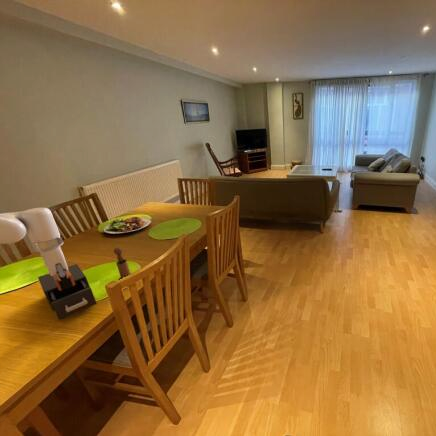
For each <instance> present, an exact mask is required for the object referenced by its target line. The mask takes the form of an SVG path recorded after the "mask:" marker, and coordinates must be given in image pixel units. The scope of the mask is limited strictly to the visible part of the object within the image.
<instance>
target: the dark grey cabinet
mask: <svg viewBox="0 0 436 436" xmlns="http://www.w3.org/2000/svg"><path fill="white" fill-rule="evenodd" d="M67 267H68V270H69V272H70V273H71V275H72V277H73V280H74V282H77V281H79V280H83V281H84V283H85V284H86V286H87V288H88V287H90V288H91V286H90V283H89V281H88V279H87V278H88V277H86V274H85V273H84V271H83V270H82V269H81V268H80V266H79V264H78V263H75V264H71V265H70V266H67ZM53 276H54V275H53ZM53 276H50V274H49V272H48V273H45V274H43V275H40V276H38V277H37V278H38V281H39V283H40V286H41V289H42V291H43V294H44V296H45V298H46V300H47V302H48V304H49V306H50V308H51V310H52V312H54V313H55V311H54V309H53V307H52V305H51V302H53V300H52V297H51V295H50V293H49V292H50V291H53V290H55V289H58V287H57V284H56V282H55V280H54V278H53Z"/></svg>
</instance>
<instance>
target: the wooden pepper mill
mask: <svg viewBox="0 0 436 436" xmlns="http://www.w3.org/2000/svg"><path fill="white" fill-rule="evenodd" d="M113 253H114V254H115V255H116V256H117V257H116V259H117V261H116V263H115V264H116V267H117V269H118V273H119V277H118V279H117V281H118V280H120V279H122V278H123V277H126V276H128V275H130V274H132V273H131V270H130V267H129V263H128V260H127V259H125V258H124V255H122V253H123V249H122V247H120V246H117V247H115V248H114V249H113Z"/></svg>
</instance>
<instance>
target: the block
mask: <svg viewBox="0 0 436 436" xmlns="http://www.w3.org/2000/svg"><path fill="white" fill-rule="evenodd" d="M66 272H67V274H68V277H70V279H71V282H72V284H73V286H74V285H75V282H74V280H73V277H72V275H71V273H70V272H69V270H68V271H66ZM59 277H60V274H59ZM53 278H54V280H55V282H56V284H57V287H58V289H59V291H61V290H62V289H61V287H60V284H59V282H58V281H59V280H58V277H57V275H54V276H53Z"/></svg>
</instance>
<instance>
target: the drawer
mask: <svg viewBox="0 0 436 436" xmlns="http://www.w3.org/2000/svg"><path fill="white" fill-rule="evenodd" d="M49 293H50V295H51V297H52V300H53V302H51V305H52V307H53V309H54V313H55V315H56V317H57V319H58V321H59V322H60V321H62V320H64V319H66V318H69V317H71V316H73V315H76V314H77V313H80V312H82V311H84V310H86V309H89V308H91V307H93V306H95V305H98V303H97V300H96V297H95V295H94V293H93V290H92V288H91V286H90V287H88V288H87V286H86V284H85V283H84V281H83V280H79V281H77V282H75V285H74V286H72V287H70V288H67V289H65V290H61V291H59V289H55V290H53V291H50V292H49Z"/></svg>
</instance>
